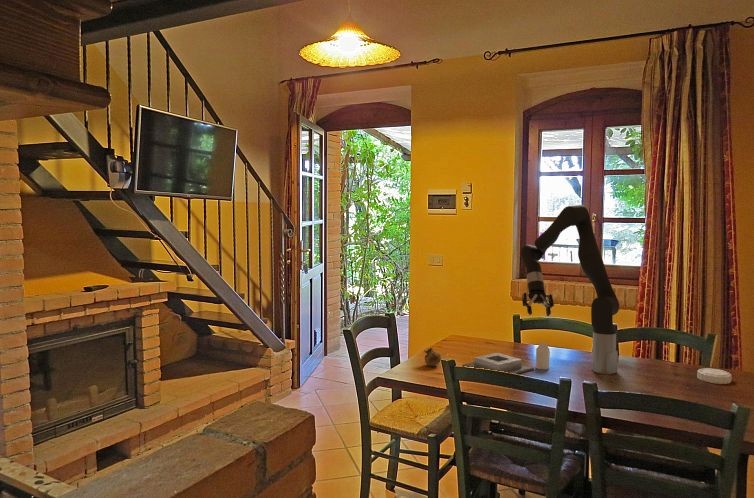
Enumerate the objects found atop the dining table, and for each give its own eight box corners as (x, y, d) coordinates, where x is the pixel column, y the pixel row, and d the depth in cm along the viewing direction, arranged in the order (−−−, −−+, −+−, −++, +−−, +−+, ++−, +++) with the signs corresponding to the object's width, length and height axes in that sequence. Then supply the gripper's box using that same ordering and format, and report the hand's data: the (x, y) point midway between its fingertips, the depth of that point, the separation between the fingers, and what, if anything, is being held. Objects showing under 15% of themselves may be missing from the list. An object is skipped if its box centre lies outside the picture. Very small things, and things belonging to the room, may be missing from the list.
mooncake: (736, 385, 216) (737, 376, 216) (704, 383, 218) (704, 375, 218) (723, 376, 228) (723, 367, 228) (692, 374, 230) (692, 366, 230)
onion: (424, 368, 240) (424, 350, 240) (423, 363, 248) (423, 346, 248) (441, 368, 240) (441, 350, 240) (440, 363, 248) (440, 346, 248)
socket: (533, 370, 237) (533, 360, 237) (499, 379, 225) (499, 368, 224) (496, 359, 255) (496, 349, 255) (462, 366, 243) (462, 357, 242)
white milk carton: (546, 339, 243) (552, 342, 238) (545, 365, 244) (551, 369, 238) (533, 340, 242) (539, 343, 236) (533, 366, 243) (539, 370, 237)
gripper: (523, 278, 253) (527, 311, 245) (553, 280, 254) (557, 313, 246) (518, 285, 259) (521, 316, 252) (546, 287, 261) (551, 318, 253)
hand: (539, 315), depth 249 cm, fingers open, 8 cm apart
